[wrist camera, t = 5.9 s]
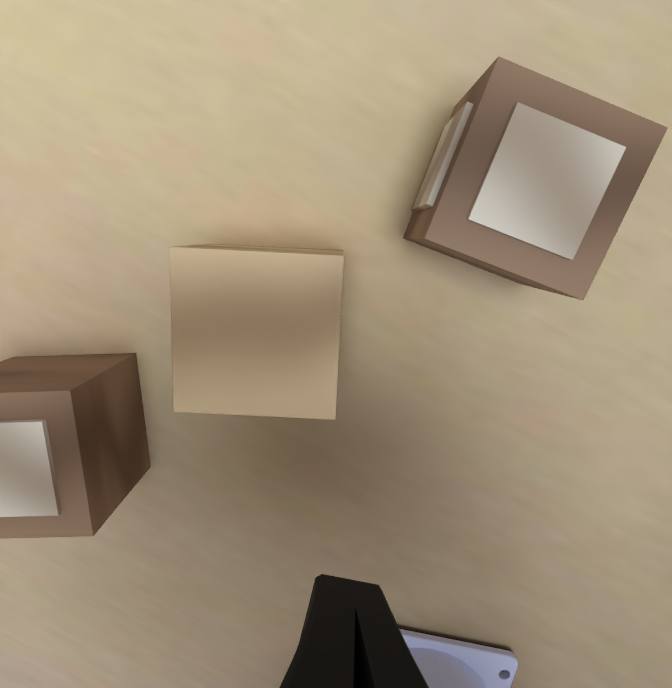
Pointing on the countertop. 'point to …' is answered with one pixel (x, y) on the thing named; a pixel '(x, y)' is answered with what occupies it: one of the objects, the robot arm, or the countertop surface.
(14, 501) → the walnut block
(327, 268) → the oak block
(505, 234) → the walnut block
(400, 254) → the countertop surface
